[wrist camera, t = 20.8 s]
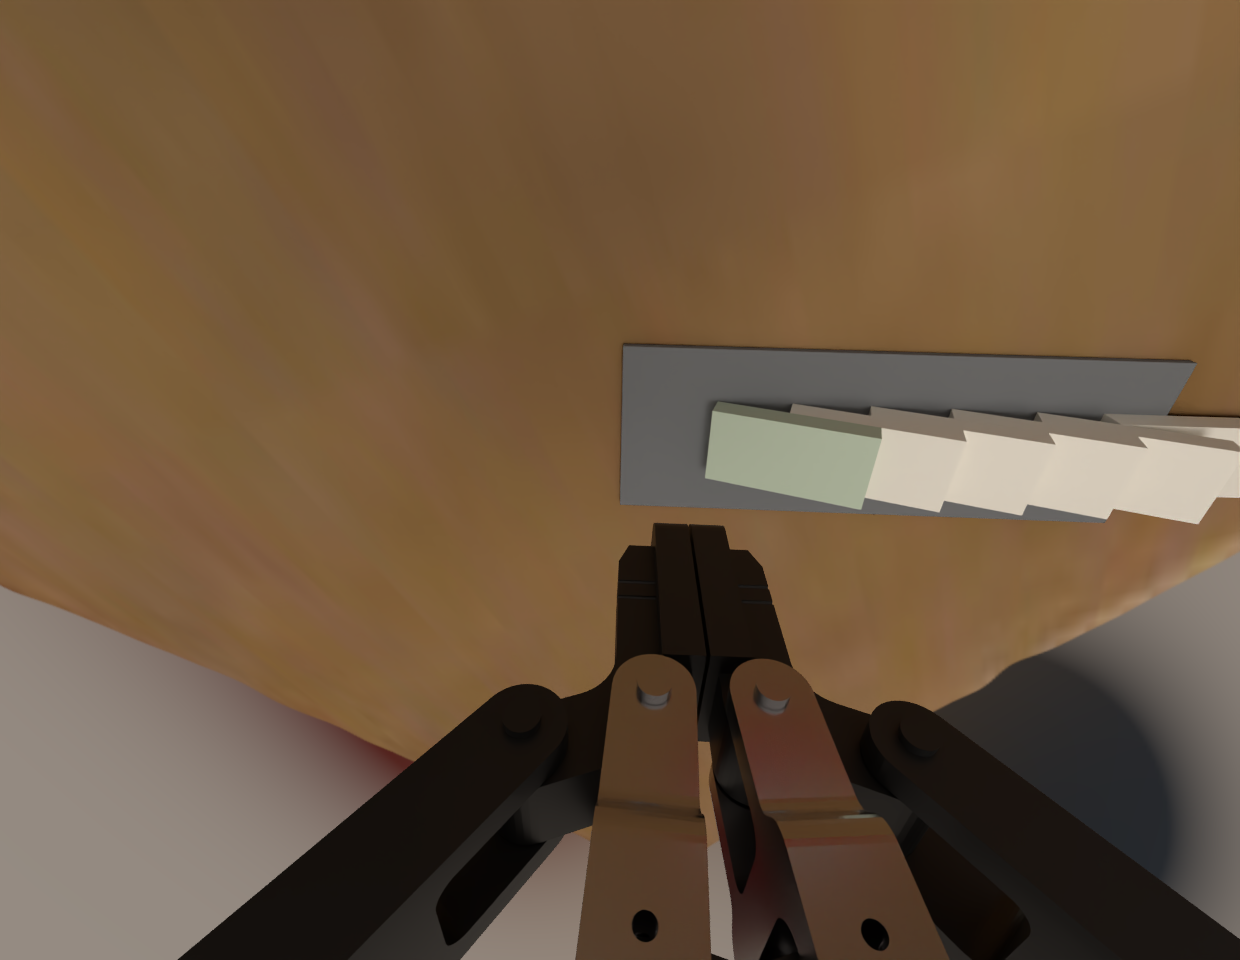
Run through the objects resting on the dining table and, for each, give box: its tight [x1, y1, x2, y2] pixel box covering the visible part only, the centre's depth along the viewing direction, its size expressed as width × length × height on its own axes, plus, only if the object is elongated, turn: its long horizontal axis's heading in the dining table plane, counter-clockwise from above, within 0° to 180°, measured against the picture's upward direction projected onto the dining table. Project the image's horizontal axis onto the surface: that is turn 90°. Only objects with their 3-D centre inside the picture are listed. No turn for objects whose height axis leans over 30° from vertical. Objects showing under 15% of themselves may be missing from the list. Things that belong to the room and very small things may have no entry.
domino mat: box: [620, 344, 1197, 523], centre depth 38 cm, size 35×12×1 cm, turn 89°
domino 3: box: [869, 406, 1056, 516], centre depth 36 cm, size 2×5×10 cm
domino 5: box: [1034, 412, 1240, 524], centre depth 35 cm, size 2×5×10 cm
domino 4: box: [948, 409, 1148, 519], centre depth 36 cm, size 2×5×10 cm
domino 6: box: [1100, 414, 1240, 498], centre depth 37 cm, size 2×5×10 cm
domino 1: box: [705, 401, 882, 510], centre depth 36 cm, size 2×5×10 cm
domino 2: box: [790, 404, 967, 512], centre depth 36 cm, size 2×5×10 cm
